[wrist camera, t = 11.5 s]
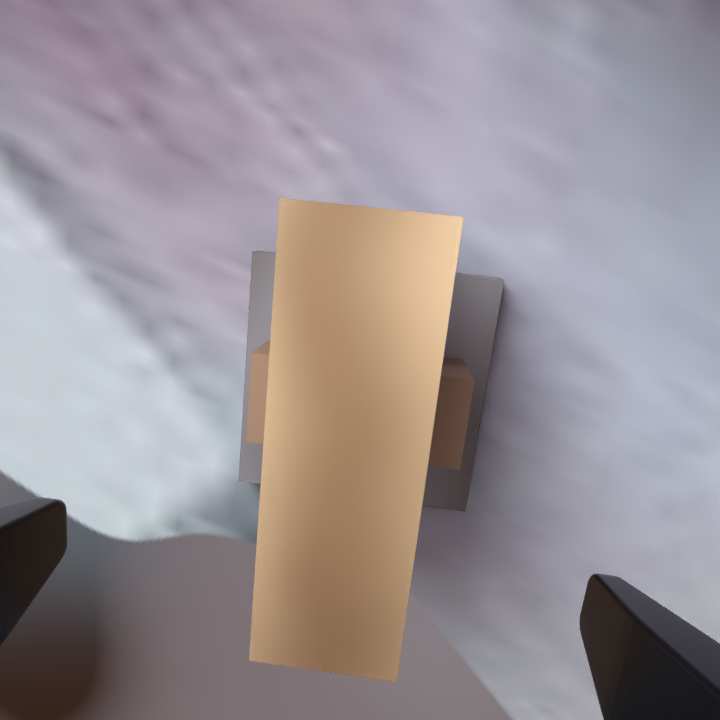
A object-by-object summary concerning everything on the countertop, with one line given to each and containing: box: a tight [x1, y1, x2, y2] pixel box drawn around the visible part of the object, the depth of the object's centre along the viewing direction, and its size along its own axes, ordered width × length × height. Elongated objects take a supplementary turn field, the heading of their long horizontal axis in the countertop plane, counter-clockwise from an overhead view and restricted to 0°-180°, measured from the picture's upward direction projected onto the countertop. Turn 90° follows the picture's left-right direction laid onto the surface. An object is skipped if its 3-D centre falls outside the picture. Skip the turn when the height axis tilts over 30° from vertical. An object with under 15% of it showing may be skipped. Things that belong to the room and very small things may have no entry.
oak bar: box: [249, 198, 463, 682], centre depth 14 cm, size 4×12×4 cm, turn 174°
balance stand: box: [239, 251, 504, 511], centre depth 18 cm, size 9×9×4 cm
